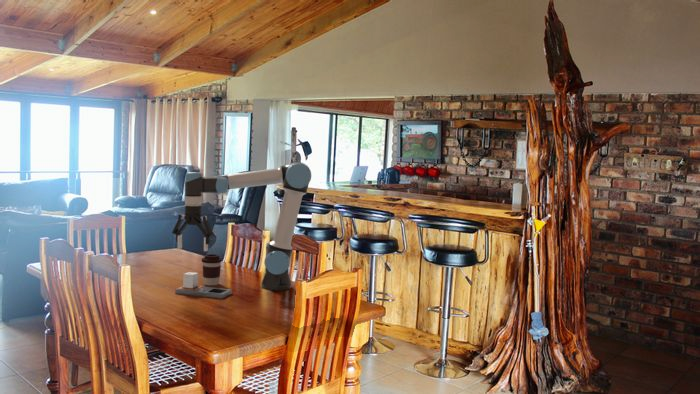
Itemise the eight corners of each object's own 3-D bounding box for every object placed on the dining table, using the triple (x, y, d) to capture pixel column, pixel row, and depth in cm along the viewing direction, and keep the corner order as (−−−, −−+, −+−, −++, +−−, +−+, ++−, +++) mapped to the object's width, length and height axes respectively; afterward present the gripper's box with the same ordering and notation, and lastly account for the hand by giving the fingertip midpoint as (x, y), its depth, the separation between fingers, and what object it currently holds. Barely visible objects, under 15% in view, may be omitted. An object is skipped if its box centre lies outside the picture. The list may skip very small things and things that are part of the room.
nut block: (197, 291, 281) (198, 272, 280) (192, 293, 276) (192, 275, 275) (188, 290, 282) (188, 271, 281) (182, 292, 277) (183, 274, 276)
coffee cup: (216, 287, 291) (217, 257, 290) (197, 286, 293) (198, 256, 292) (224, 283, 301) (225, 254, 300) (206, 281, 303) (207, 252, 302)
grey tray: (231, 294, 279) (231, 288, 279) (222, 299, 269) (222, 293, 269) (186, 289, 285) (186, 284, 285) (175, 294, 275) (175, 288, 275)
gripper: (221, 205, 276) (220, 250, 278) (173, 202, 282) (173, 246, 284) (213, 207, 269) (213, 253, 271) (165, 204, 275) (164, 249, 277)
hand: (192, 249), depth 277 cm, fingers open, 13 cm apart
